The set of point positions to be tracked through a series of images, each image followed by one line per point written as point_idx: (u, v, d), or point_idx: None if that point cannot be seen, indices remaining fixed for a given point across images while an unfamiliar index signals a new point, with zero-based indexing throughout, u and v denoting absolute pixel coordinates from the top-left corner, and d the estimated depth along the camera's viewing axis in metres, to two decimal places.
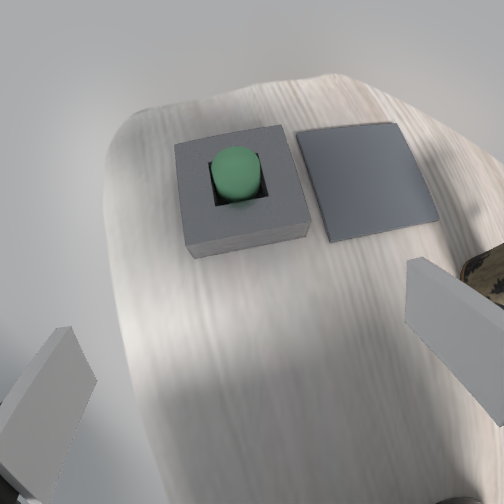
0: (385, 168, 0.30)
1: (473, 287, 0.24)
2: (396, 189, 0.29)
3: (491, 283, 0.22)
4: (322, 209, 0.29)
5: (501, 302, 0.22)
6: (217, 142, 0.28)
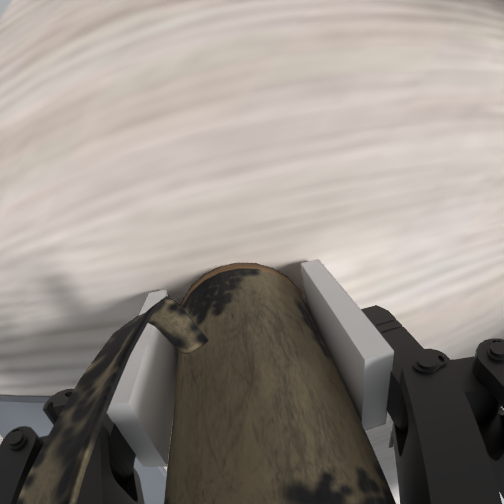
0: None
1: None
2: None
3: None
4: None
5: None
6: None
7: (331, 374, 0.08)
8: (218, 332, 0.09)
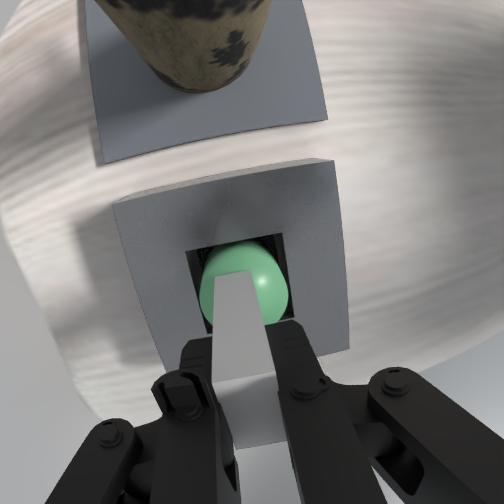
0: None
1: (211, 84, 0.13)
2: None
3: (215, 69, 0.10)
4: (271, 125, 0.16)
5: (260, 36, 0.10)
6: (163, 321, 0.15)
7: None
8: None
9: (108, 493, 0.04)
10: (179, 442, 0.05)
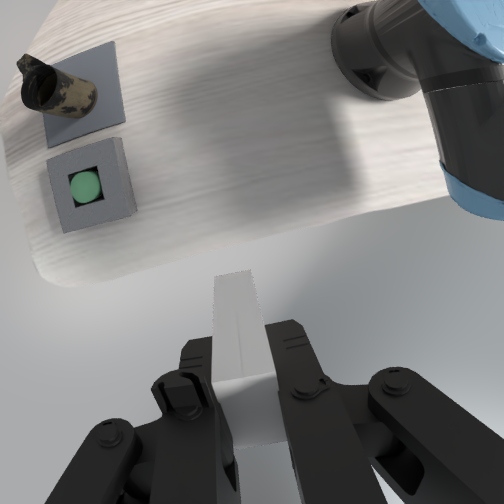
0: None
1: (76, 116, 0.33)
2: (90, 73, 0.34)
3: (69, 114, 0.31)
4: (103, 127, 0.36)
5: (84, 99, 0.31)
6: (60, 203, 0.36)
7: (74, 76, 0.29)
8: None
9: (108, 493, 0.04)
10: (179, 442, 0.05)
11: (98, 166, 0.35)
